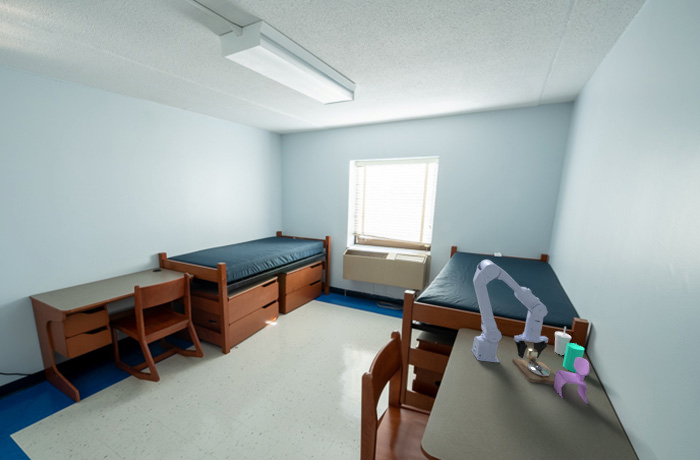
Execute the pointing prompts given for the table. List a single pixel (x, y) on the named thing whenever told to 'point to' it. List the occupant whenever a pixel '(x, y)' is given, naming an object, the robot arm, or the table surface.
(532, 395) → the table surface
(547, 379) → the stand
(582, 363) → the chair
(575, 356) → the candle
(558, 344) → the smoothie
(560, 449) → the table surface
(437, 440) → the table surface
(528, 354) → the crank dial
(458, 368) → the table surface
